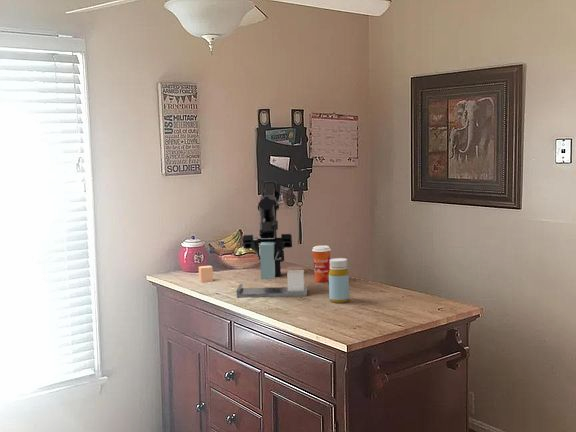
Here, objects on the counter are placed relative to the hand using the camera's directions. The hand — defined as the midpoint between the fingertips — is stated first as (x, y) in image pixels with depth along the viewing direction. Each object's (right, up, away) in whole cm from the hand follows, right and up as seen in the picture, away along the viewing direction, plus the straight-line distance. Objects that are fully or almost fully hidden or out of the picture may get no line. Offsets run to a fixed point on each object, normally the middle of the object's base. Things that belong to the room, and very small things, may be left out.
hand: (267, 259), depth 258 cm
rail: (+2, -13, +3) cm, 14 cm away
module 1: (-26, -11, +30) cm, 41 cm away
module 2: (0, -7, +2) cm, 7 cm away
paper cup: (+22, -10, +22) cm, 33 cm away
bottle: (+26, -14, -12) cm, 32 cm away
